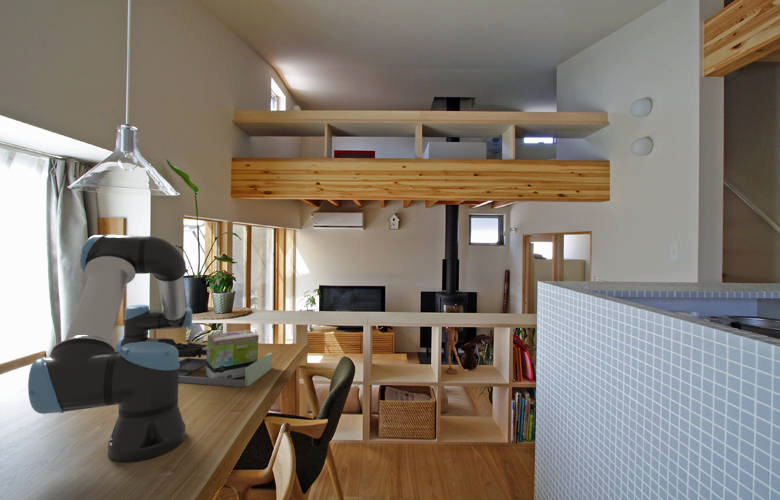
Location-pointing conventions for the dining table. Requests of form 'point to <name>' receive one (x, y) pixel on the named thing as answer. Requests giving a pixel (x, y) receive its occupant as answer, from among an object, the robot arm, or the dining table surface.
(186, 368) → the channel
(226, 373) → the tea box
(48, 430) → the dining table surface
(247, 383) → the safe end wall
